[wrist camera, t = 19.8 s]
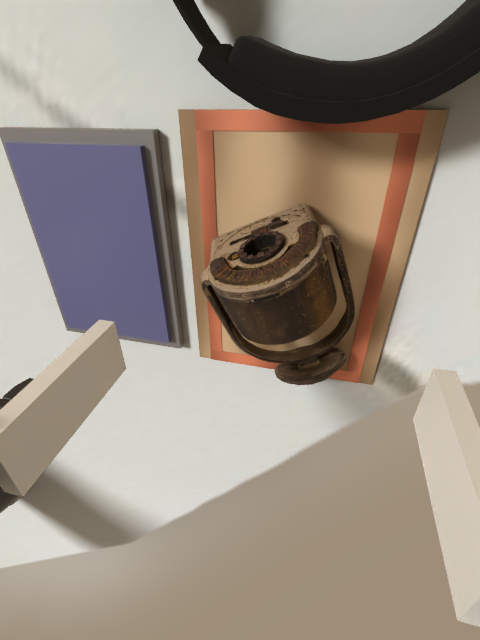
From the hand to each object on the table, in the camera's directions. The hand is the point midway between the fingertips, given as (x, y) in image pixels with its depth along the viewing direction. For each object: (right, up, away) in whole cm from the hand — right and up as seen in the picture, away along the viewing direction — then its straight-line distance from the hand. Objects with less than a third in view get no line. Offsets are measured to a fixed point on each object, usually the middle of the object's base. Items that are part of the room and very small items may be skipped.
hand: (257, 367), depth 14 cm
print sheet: (+3, +6, +9) cm, 11 cm away
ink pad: (-11, +7, +11) cm, 18 cm away
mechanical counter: (+2, +4, +10) cm, 11 cm away
